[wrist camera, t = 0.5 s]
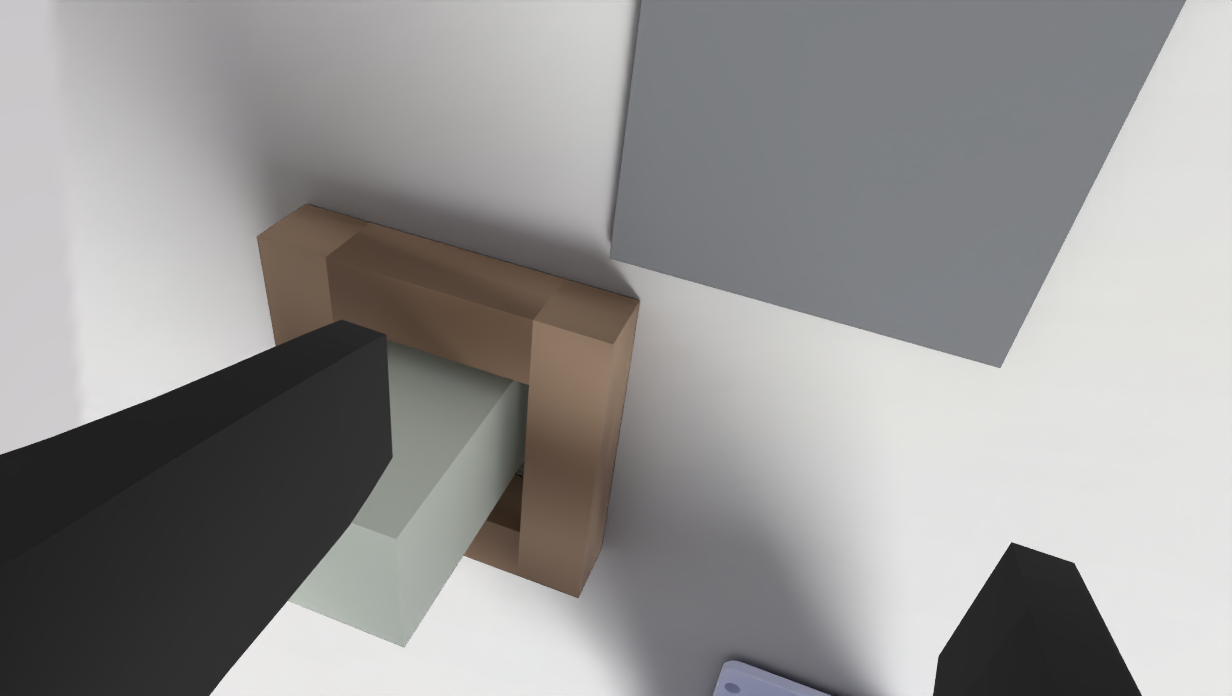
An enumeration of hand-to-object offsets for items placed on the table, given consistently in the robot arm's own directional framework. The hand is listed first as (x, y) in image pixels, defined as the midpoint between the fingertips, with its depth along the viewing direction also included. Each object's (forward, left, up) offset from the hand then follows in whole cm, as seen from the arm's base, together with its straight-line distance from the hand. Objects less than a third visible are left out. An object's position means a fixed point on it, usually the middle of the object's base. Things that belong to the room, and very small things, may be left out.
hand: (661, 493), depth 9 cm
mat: (+1, -1, -10) cm, 10 cm away
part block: (-9, +8, -10) cm, 16 cm away
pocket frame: (-9, +8, -10) cm, 16 cm away
